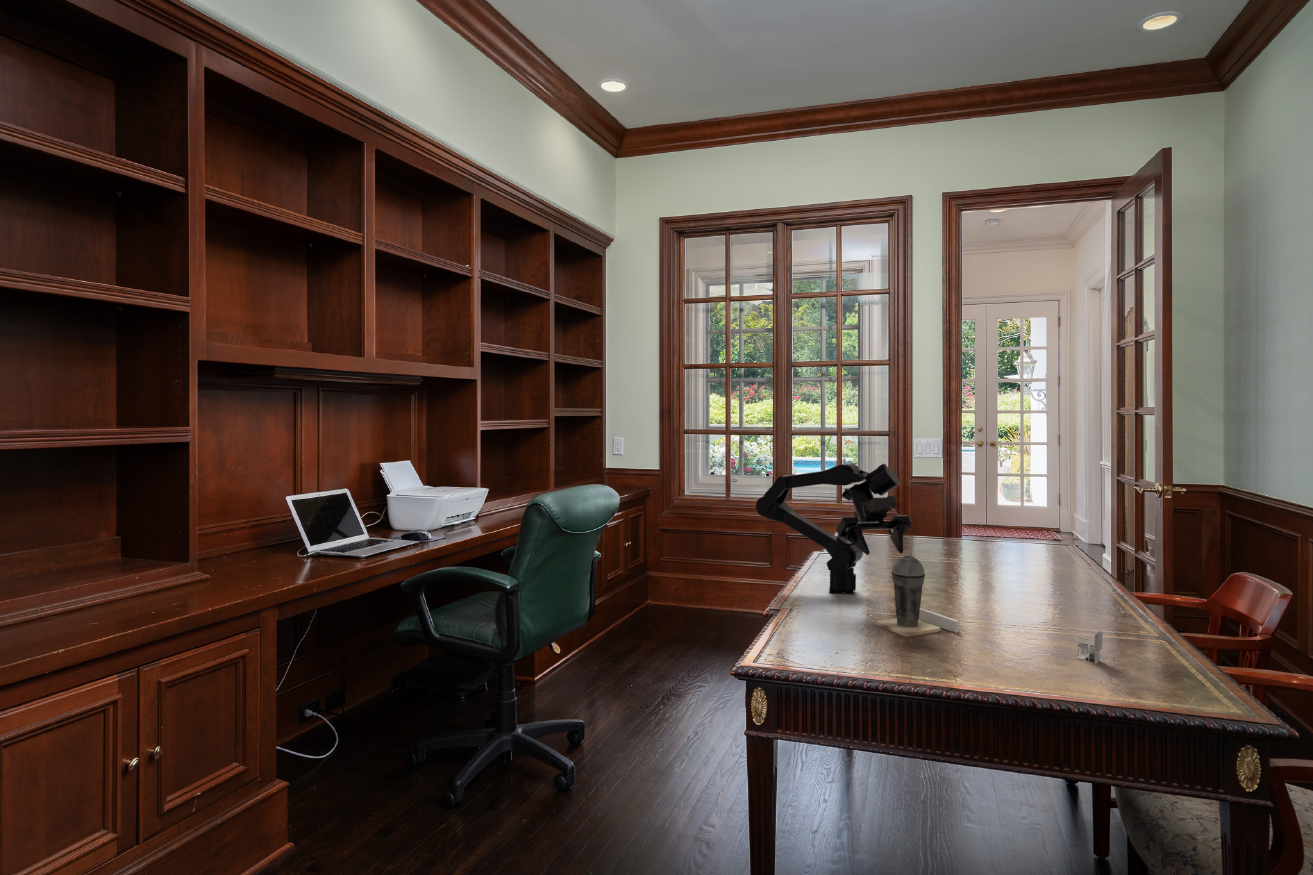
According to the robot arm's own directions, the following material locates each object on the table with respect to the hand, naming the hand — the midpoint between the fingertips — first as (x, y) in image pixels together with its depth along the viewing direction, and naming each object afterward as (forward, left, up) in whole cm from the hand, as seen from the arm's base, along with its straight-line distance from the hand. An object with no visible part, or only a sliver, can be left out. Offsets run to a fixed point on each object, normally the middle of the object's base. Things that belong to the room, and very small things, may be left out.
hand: (885, 553), depth 180 cm
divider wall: (+10, -12, -14) cm, 21 cm away
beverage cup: (+4, -17, -13) cm, 21 cm away
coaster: (+4, -17, -14) cm, 22 cm away
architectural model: (+33, -32, -14) cm, 48 cm away
